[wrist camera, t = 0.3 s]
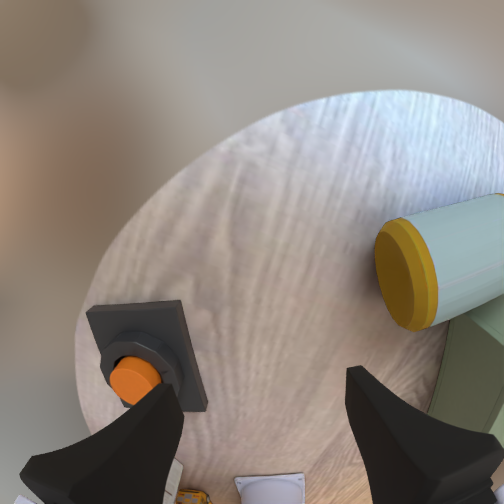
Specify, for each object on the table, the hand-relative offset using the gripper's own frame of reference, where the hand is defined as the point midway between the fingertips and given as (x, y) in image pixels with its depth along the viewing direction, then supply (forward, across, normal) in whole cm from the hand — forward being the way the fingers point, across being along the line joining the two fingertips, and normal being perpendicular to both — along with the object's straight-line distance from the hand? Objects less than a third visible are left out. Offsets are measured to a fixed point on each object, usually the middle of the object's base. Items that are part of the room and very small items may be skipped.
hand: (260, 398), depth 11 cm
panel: (+10, +10, +4) cm, 15 cm away
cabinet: (+10, -22, +10) cm, 26 cm away
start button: (+7, +10, +4) cm, 13 cm away
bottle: (+6, -8, -2) cm, 10 cm away
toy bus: (+10, +12, +30) cm, 34 cm away
